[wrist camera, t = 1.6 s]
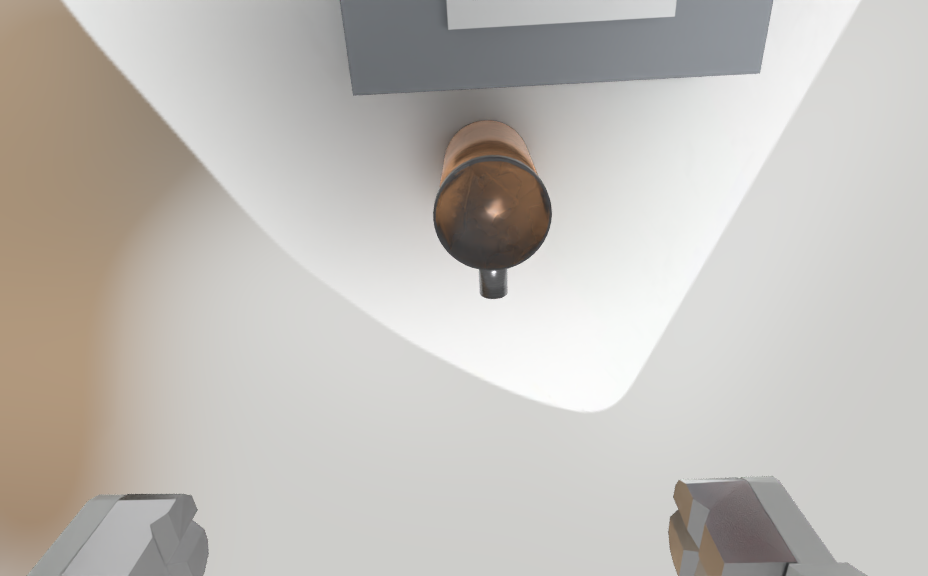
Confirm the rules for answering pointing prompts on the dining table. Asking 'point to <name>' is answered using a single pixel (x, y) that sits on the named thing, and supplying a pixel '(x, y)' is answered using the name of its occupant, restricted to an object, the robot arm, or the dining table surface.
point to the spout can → (490, 203)
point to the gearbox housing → (547, 42)
